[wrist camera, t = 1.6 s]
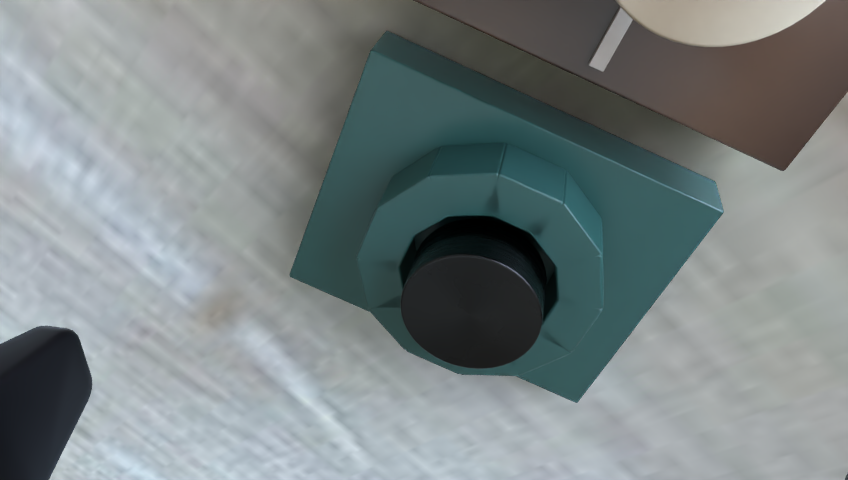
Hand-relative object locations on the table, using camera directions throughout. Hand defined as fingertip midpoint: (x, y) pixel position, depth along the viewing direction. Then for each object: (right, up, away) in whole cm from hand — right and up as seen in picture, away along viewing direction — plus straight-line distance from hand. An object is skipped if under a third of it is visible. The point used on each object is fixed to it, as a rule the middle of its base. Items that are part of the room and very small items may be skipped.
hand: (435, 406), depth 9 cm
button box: (+2, +3, +14) cm, 14 cm away
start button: (+1, +1, +11) cm, 12 cm away
